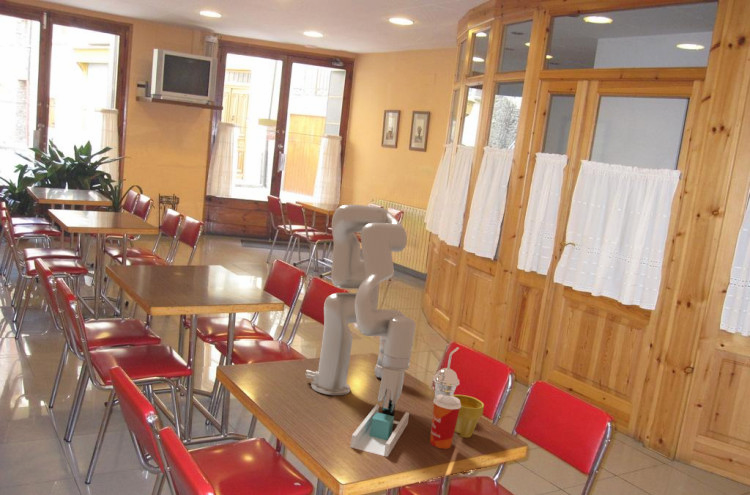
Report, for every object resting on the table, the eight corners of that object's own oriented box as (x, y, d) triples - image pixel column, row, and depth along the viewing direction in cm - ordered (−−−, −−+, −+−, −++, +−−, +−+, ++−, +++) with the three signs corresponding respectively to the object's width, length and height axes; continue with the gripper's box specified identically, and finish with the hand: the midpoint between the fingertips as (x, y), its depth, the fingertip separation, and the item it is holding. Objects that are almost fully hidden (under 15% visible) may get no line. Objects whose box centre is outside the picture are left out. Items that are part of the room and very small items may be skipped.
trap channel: (349, 451, 168) (352, 434, 167) (373, 419, 191) (376, 404, 190) (387, 461, 166) (389, 444, 165) (406, 427, 189) (409, 412, 188)
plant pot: (482, 432, 194) (488, 401, 192) (473, 444, 184) (479, 411, 183) (449, 422, 198) (454, 391, 196) (438, 433, 188) (444, 401, 187)
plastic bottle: (379, 381, 225) (387, 325, 222) (370, 374, 231) (378, 319, 228) (395, 381, 228) (404, 325, 225) (386, 374, 234) (394, 320, 231)
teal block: (369, 435, 176) (372, 418, 176) (374, 429, 181) (376, 412, 180) (387, 440, 175) (389, 422, 174) (391, 433, 180) (394, 416, 179)
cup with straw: (422, 406, 207) (432, 345, 205) (444, 404, 212) (454, 345, 210) (438, 417, 200) (449, 354, 198) (461, 414, 205) (471, 353, 203)
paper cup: (425, 439, 182) (433, 391, 180) (452, 443, 182) (460, 396, 180) (426, 451, 174) (434, 402, 173) (455, 456, 174) (463, 406, 173)
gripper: (389, 351, 189) (380, 411, 192) (376, 365, 175) (366, 430, 177) (414, 357, 188) (405, 417, 190) (403, 371, 173) (393, 436, 176)
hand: (386, 423), depth 184 cm, fingers closed
